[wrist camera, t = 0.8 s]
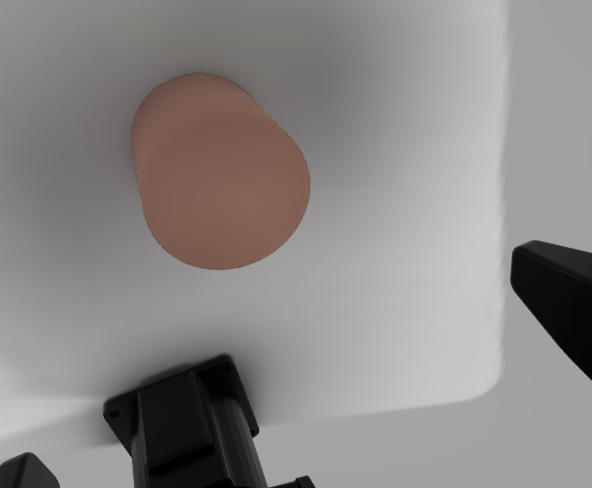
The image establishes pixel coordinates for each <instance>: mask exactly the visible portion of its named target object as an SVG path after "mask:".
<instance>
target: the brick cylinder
mask: <svg viewBox="0 0 592 488" xmlns="http://www.w3.org/2000/svg"><path fill="white" fill-rule="evenodd" d="M131 147H132V152H133V158H134V163H135V168H136V173H137V178H138V183H139V189H140V194H141V199H142V204H143V209H144V215H145V219H146V222H147V224H148V227H149V229H150V231H151V233H152V235H153V236H154V238H155V239H156V240H157V242H158V243H159V244H160V245H161V246H162V247H163V248H164V249H165V250H166V251H167V252H168V253H169V254H171V255H172V256H173V257H175V258H177V259H178V260H180V261H182V262H184V263H187V264H189V265H191V266H195V267H199V268H204V269H210V270H226V269H234V268H239V267H243V266H247V265H250V264H252V263H255V262H257V261H259V260H261V259H263V258H265V257H267V256H269V255H270V254H271V253H273V252H274V251H276V250H277V249H278V248H279V247H281V246H282V245H283V244H284V243H285V242H286V241H287V240H288V239H289V238H290V237H291V235H292V234H293V233H294V231H295V230H296V229H297V227H298V225H299V224H300V222H301V220H302V218H303V216H304V213H305V211H306V208H307V204H308V201H309V194H310V177H309V171H308V167H307V163H306V161H305V158H304V156H303V154H302V152H301V151H300V149H299V147H298V146H297V144H296V143H295V142H294V141H293V140H292V138H291V137H290V136H289V135H288V134H287V133H286V132H285V131H284V130H283V129H282V128H281V127H280V126H279V125H278V124H277V123H276V122H275V121H274V120H273V119H272V118H271V117H270V116H269V115H268V114H267V113H266V112H265V111H264V110H263V109H262V108H261V107H260V106H259V105H258V104H257V103H256V102H255V101H254V100H253V99H252V98H251V97H250V96H249V95H248V94H247V93H246V92H245V91H244V90H242V89H241V88H240V87H239V86H237V85H236V84H234V83H233V82H231V81H229V80H227V79H224V78H222V77H219V76H215V75H210V74H199V73H198V74H187V75H183V76H179V77H176V78H173V79H171V80H169V81H167V82H165V83H163V84H161V85H160V86H159V87H157V88H156V89H154V90H153V91H152V92H151V93H150V94H149V95H148V96H147V97H146V99H145V100H144V101H143V102H142V104H141V106H140V107H139V109H138V111H137V113H136V116H135V118H134V122H133V125H132V131H131Z"/></svg>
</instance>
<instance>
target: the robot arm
mask: <svg viewBox="0 0 592 488" xmlns="http://www.w3.org/2000/svg"><path fill="white" fill-rule="evenodd" d="M510 282H511V286H512V288H513V290H514V292H515V293H516V294H517V295H518V297H519V298H520V299H521V300H522V302H523V303H524V304H525V305H526V307H527V308H528V309H529V310H530V311H531V313H532V314H533V315H534V316H535V318H536V319H537V320H538V321H539V322H540V324H541V325H542V326H543V327H544V329H545V330H546V331H547V332H548V334H549V335H550V336H551V337H552V339H553V340H554V341H555V342H556V343H557V345H558V346H559V347H560V348H561V349H562V350H563V352H564V353H565V354H566V355H567V356H568V357H569V358H570V359H571V360H572V361H573V362H574V363H575V364H576V365H577V366H578V367H579V368H580V369H581V370H582V371H583V372H584V373H585V374H586V375H587V376H588V377H589V378H590V379H591V380H592V253H590V252H585V251H581V250H576V249H572V248H568V247H564V246H559V245H555V244H551V243H546V242H542V241H537V240H532V241H529V242H526V243H524V244H522V245H519V246H517V247H515V248H514V250H513V252H512V261H511V275H510ZM226 365H227V366H226ZM223 366H226V367H223ZM222 367H223V368H222ZM112 410H116V411H112ZM103 416H104V419H105V420H106V421H107V423H108V424H109V426H110V427H111V429H112V430H113V432H114V433H115V435H116V436H117V437H118V439H119V440H120V442H121V443H122V445H123V446H124V448H125V449H126V450H127V452H128V453H129V455H130V456H131V458H132V464H133V477H134V488H268V486H267V483H266V480H265V477H264V474H263V471H262V468H261V464H260V461H259V458H258V455H257V452H256V449H255V446H254V442H253V439H252V438H253V437H255V436H256V435H257V434H258V433H259V427H258V424H257V422H256V419H255V416H254V414H253V411H252V409H251V406H250V403H249V401H248V398H247V395H246V393H245V390H244V388H243V385H242V382H241V380H240V377H239V374H238V372H237V369H236V367H235V364H234V361H233V359H232V358H231V357H229V356H223V357H220V358H217V359H215V360H212V361H210V362H207V363H205V364H202V365H200V366H197V367H195V368H192V369H190V370H187V371H184V372H182V373H179V374H177V375H174V376H172V377H169V378H167V379H164V380H162V381H159V382H157V383H154V384H152V385H149V386H146V387H144V388H141V389H139V390H136V391H134V392H131V393H129V394H126V395H124V396H121V397H119V398H116V399H114V400H111V401H109V402H107V403H106V404H105V405H104V407H103ZM0 488H60V485H59V483H58V480H57V479H56V477H55V476H54V475H53V474H52V473H51V471H50V470H49V469H48V468H47V467H46V466H45V465H44V464H43V463H42V462H41V461H40V459H39V458H38V457H37V456H36V455H35V454H33V453H31V452H27V453H23V454H21V455H18V456H16V457H14V458H11V459H9V460H7V461H5V462H3V463H2V464H1V465H0ZM269 488H315V486H314V484H313V483H312V481H311V480H310V478H309V477H308V476H303V477H299V478H296V480H295V481H292V482H289V483H285V484H281V485H277V486H273V487H269Z"/></svg>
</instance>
